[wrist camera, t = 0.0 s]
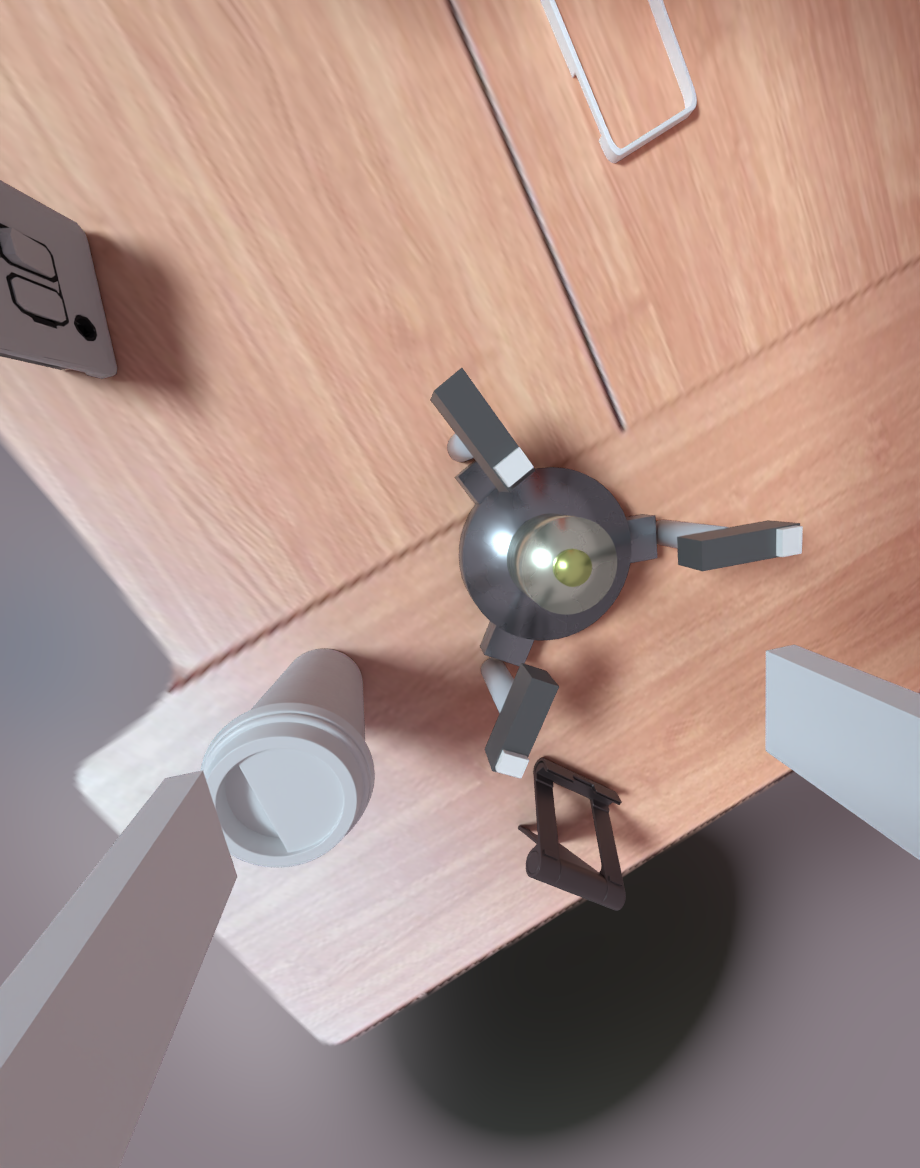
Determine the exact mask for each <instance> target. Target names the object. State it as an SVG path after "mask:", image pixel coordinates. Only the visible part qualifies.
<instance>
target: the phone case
mask: <svg viewBox="0 0 920 1168" xmlns="http://www.w3.org/2000/svg"><path fill="white" fill-rule="evenodd" d="M540 1H541V4H542V6H543V8H544V11H545V13H546V16H547V18H548V20H549V23H550V25H551V28H552V30H553V32H554V35H555V37H556V39H557V42H558V44H559V47H560V49H561V51H562V54H563V56H564V59H565V61H566V63H567V66H568V68H569V71H570V73H571V75H572V78H573V77H574V76H577V78H578V81H579V83H580V85H581V88H582V90H583V93H584V95H585V97H586V100H587V102H588V105H589V107H590V109H591V112H592V114H593V117H594V119H595V122H596V124H597V126H598V129H599V131H600V134H601V138H600V139H599V143H600V145H601V147H602V150H603V152H604V154H605V156H606V157H607V159H608V160H609V161H610V162H612V163H617V162H618V161H620V160H621V159H623V158H624V157H626V156H628V155H629V154H631V153H632V152H634V151H636V150H637V149H639V148H640V147H642V146H643V145H645V144H647V143H648V142H650V141H651V140H653V139H654V138H656V137H658V136H659V135H661V134H662V133H664V132H666V131H667V130H669V129H670V128H672V127H673V126H675V125H677V124H678V123H680V122H681V121H683V120H685V119H686V118H688V116H689V115H690V114H691V113H692V111H693V110H694V109H695V107H696V103H697V98H696V93H695V89H694V86H693V83H692V81H691V78H690V75H689V72H688V69H687V67H686V64H685V61H684V58H683V56H682V53H681V50H680V47H679V44H678V42H677V39H676V36H675V33H674V30H673V28H672V25H671V22H670V19H669V17H668V14H667V11H666V8H665V5H664V3H663V0H648V2H649V5H650V7H651V10H652V13H653V16H654V18H655V21H656V24H657V27H658V29H659V32H660V35H661V38H662V40H663V43H664V46H665V49H666V51H667V54H668V57H669V60H670V62H671V65H672V68H673V70H674V73H675V76H676V79H677V81H678V84H679V87H680V90H681V92H682V95H683V98H684V102H685V109H684V110H683V111H681V112H680V113H678V114H676V115H675V116H673V117H672V118H670V119H669V120H667V121H665V122H664V123H662V124H661V125H659V126H657V127H656V128H654V129H653V130H651V131H649V132H648V133H646V134H645V135H643V136H642V137H640V138H638V139H637V140H635V141H634V142H632V143H630V144H629V145H627V146H626V147H624V148H622V149H620V148H618V147H617V146H616V145H615V144H614V142H613V140H612V139H611V136H610V134H609V132H608V129H607V127H606V124H605V122H604V119H603V117H602V115H601V112H600V110H599V107H598V105H597V102H596V100H595V98H594V95H593V93H592V90H591V88H590V85H589V83H588V81H587V78H586V76H585V73H584V71H583V68H582V66H581V63H580V61H579V59H578V56H577V54H576V51H575V49H574V46H573V44H572V42H571V39H570V37H569V34H568V32H567V29H566V27H565V25H564V22H563V20H562V17H561V15H560V12H559V10H558V7H557V5H556V3H555V0H540Z"/></svg>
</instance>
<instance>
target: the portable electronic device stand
mask: <svg viewBox="0 0 920 1168" xmlns="http://www.w3.org/2000/svg"><path fill="white" fill-rule="evenodd" d="M533 774H534V788H535V802H536V816H537V830H538V835H536V834H534V833H533V832H531V831H530V830H528V829H526V828H523V827H521V826H518V829H519V830H520V831H522V832H523V833H524V834H525V835H527V836H528V837H529V838H530V839H531V840H533V841H534V842H535V843H536V844H537V845H536V846H535V847H534V848H533V849H532V850H531V851H530V852H529V854H528V857H527V860H526V872H527V874H528V876H529V877H531V878H534V879H536V880H539V881H541V882H544V883H547V884H549V885H552V886H554V887H557V888H559V889H562V890H564V891H567V892H570V893H572V894H575V895H577V896H580V897H582V898H585V899H588V900H590V901H593V902H595V903H598V904H601V905H603V906H606V907H608V908H611V909H614V910H619V909H621V908H622V907H623V905H624V902H625V889H624V885H623V879H622V874H621V869H620V864H619V860H618V855H617V850H616V845H615V841H614V836H613V831H612V826H611V822H610V817H609V805H610V804H611V803H613V802H614V803H616V804H618V805H620V803H622V802H621V800H620V798H619V796H618V794H617V793H616V792H615V791H613V790H611V789H609V788H607V787H604V786H602V785H600V784H598V783H596V782H594V781H591V780H589V779H587V778H585V777H583V776H581V775H579V774H576V773H574V772H572V771H570V770H568V769H566V768H563V767H561V766H559V765H557V764H555V763H553V762H550V761H548V760H546V759H544V758H540V759H539V760H538V761H537V762H536V764H535V766H534V771H533ZM553 782H554V783H556V784H558V785H561V786H563V787H565V788H567V789H569V790H572V791H574V792H576V793H578V794H580V795H583V796H585V797H587V798H589V799H590V803H591V808H592V814H593V819H594V825H595V831H596V836H597V842H598V847H599V853H600V858H601V865H602V867H601V871H600V872H597V871H596V870H595V869H594V868H592V867H591V866H590V865H588V864H587V863H585V862H584V861H583V860H581V859H580V858H579V857H577V856H576V855H575V854H573V853H572V852H570V851H569V850H568V849H566V848H565V847H564V846H562V845H561V844H559V843H558V835H557V826H556V816H555V807H554V798H553V789H552V788H553Z"/></svg>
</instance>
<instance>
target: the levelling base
mask: <svg viewBox="0 0 920 1168" xmlns="http://www.w3.org/2000/svg"><path fill="white" fill-rule="evenodd" d="M535 470H536V471H534V472H533V473H532V474H531V475H529V476H528V477H527V478H526V479H525V480H523V481H522V482H521V483H520V484H519V485H517V486H516V487H515V488H514V489H512V490H511V491H510V492H499V491H498V489H497V488H496V487H495V485H494V484H493V483H492V481H491V480H490V479H489V477H488V476H487V475H486V473H485V472H484V471H483V469H482V468H481V467H480V465H479V464H478V463H477V461H476V460H475V461H473V462H472V463H471V464H470V465H469V466H467V467H466V468H465V469H464V470H463V471H461V472H460V473H459V474H458V475H457V476H455V479H456V480H457V481H458V482H459V484H460V485H461V486H462V488H463V489H464V490H465V492H466V493H467V494H468V495H469V497H470V498H471V499H472V501H473V502H474V503H475V505H474V507H473V508H472V510H471V511H470V513H469V515H468V517H467V519H466V522H465V524H464V527H463V530H462V533H461V538H460V544H459V565H460V571H461V575H462V579H463V582H464V584H465V587H466V589H467V591H468V593H469V595H470V596H471V598H472V599H473V601H474V602H475V604H476V605H477V606H478V608H479V609H480V611H481V612H482V613H483V614H484V615H485V616H486V617H487V618H488V619H489V620H490V623H489V625H488V628H487V630H486V633H485V635H484V638H483V640H482V642H481V645H480V648H481V650H482V652H483V654H484V655H486V656H489V657H493V658H496V659H499V660H502V661H505V662H508V663H511V664H514V665H517V666H520V665H521V663H523V664H524V663H525V661H526V658H527V656H528V654H529V651H530V649H531V647H532V644H533V642H534V640H553V639H559V638H563V637H567V636H570V635H572V634H575V633H577V632H579V631H581V630H583V629H585V628H587V627H588V626H590V625H591V624H593V623H594V622H595V621H597V620H598V619H599V618H600V617H601V616H602V615H603V614H604V613H605V612H606V611H607V610H608V609H609V608H610V607H611V605H612V604H613V603H614V601H615V600H616V598H617V597H618V595H619V593H620V591H621V589H622V587H623V585H624V583H625V580H626V578H627V575H628V570H629V566H630V563H633V562H639V561H644V560H650V559H655V558H657V541H656V521H655V516H654V515H645V514H641V515H635V516H629V517H625V515H624V513H623V510H622V509H621V507H620V505H619V503H618V502H617V500H616V499H615V498H614V497H613V495H612V494H611V493H610V492H609V491H608V490H607V489H606V488H605V487H604V486H603V485H602V484H600V483H599V482H597V481H596V480H595V479H593V478H591V477H589V476H587V475H585V474H583V473H580V472H577V471H575V470H570V469H565V468H554V467H549V468H538V469H535Z"/></svg>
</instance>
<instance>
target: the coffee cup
mask: <svg viewBox="0 0 920 1168" xmlns="http://www.w3.org/2000/svg"><path fill="white" fill-rule="evenodd" d="M202 770H203V772H204V775H205V778H206V781H207V784H208V787H209V790H210V793H211V797H212V800H213V803H214V806H215V809H216V812H217V815H218V818H219V821H220V825H221V828H222V831H223V834H224V837H225V840H226V843H227V846H228V849H229V852H230V854H231V855H233V856H234V857H236V858H238V859H240V860H242V861H245V862H248V863H251V864H254V865H258V866H264V867H290V866H296V865H300V864H304V863H307V862H310V861H312V860H314V859H316V858H319V857H320V856H322V855H324V854H325V853H327V852H328V851H330V850H331V849H332V848H334V847H335V846H336V845H337V844H338V843H339V842H340V841H341V840H342V839H343V837H344V836H346V835H347V834H348V833H349V832H350V831H351V829H352V828H353V827H354V826H355V825H356V823H357V822H358V821H359V819H360V818H361V816H362V815H363V813H364V811H365V809H366V807H367V805H368V803H369V801H370V798H371V795H372V792H373V787H374V779H375V771H374V763H373V759H372V756H371V753H370V750H369V748H368V746H367V744H366V742H365V725H364V698H363V679H362V675H361V672H360V670H359V668H358V666H357V665H356V663H355V662H354V661H353V660H352V659H351V658H350V657H348V656H347V655H345V654H343V653H341V652H339V651H336V650H332V649H315V650H311V651H308V652H306V653H304V654H302V655H301V656H299V657H298V658H297V659H295V660H294V661H293V662H292V664H291V665H290V666H289V667H288V668H287V669H286V670H285V671H284V673H283V674H282V675H281V676H280V677H279V678H278V679H277V681H276V682H275V683H274V684H273V685H272V686H271V687H270V688H269V690H268V691H267V692H266V693H265V694H264V695H263V696H262V697H261V699H260V700H259V701H258V702H257V703H256V704H255V705H254V706H253V708H252V709H251V710H250V711H248V712H246V713H244V714H242V715H240V716H238V717H237V718H235V719H234V720H232V721H231V722H230V723H228V724H227V725H226V726H225V727H224V728H223V729H222V730H221V731H220V732H219V733H218V734H217V735H216V737H215V738H214V739H213V741H212V742H211V744H210V745H209V747H208V749H207V751H206V753H205V756H204V759H203V762H202V767H201V771H202Z"/></svg>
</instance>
